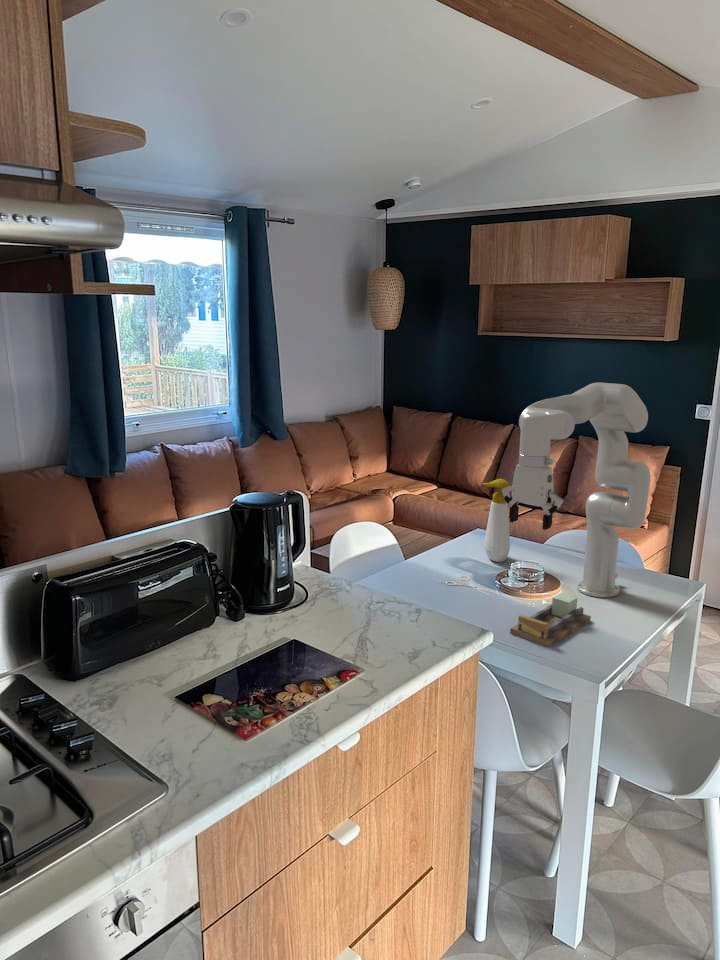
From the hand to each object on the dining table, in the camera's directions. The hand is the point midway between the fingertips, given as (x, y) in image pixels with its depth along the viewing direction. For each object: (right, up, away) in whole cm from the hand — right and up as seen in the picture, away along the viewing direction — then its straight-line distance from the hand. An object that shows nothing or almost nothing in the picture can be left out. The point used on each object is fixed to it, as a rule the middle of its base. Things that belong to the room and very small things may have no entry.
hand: (529, 525), depth 194 cm
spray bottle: (+3, -16, +67) cm, 69 cm away
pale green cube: (+14, -26, +17) cm, 34 cm away
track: (+9, -29, +12) cm, 33 cm away
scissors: (-8, -23, +41) cm, 48 cm away
